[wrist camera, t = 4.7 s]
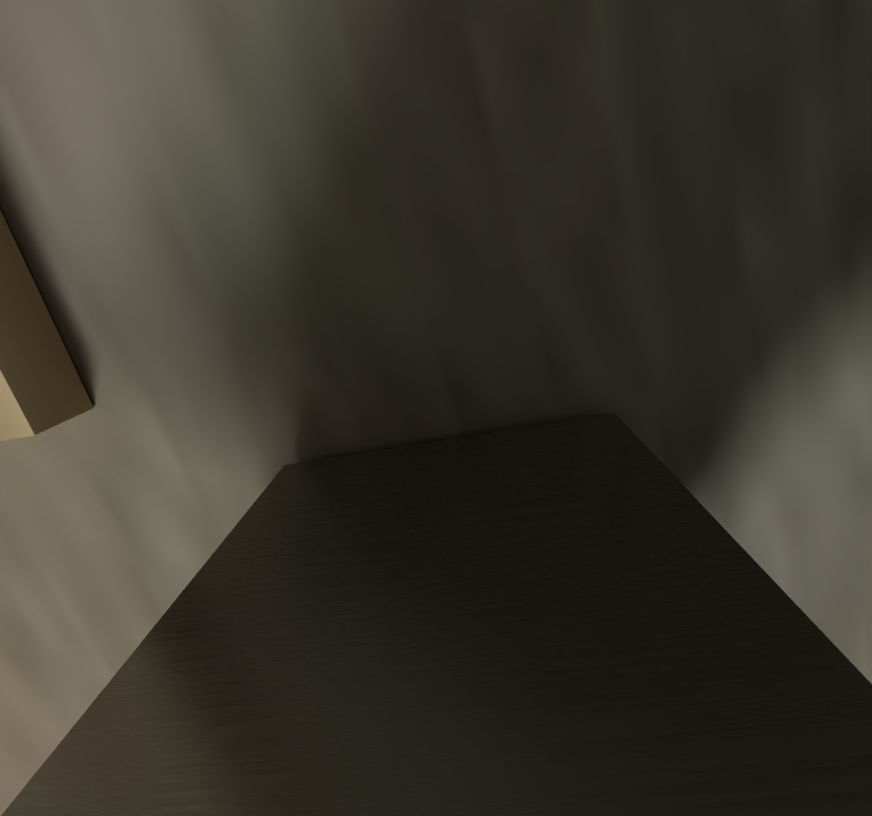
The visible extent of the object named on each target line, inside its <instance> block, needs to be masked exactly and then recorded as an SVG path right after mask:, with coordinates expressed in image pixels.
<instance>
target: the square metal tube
mask: <svg viewBox="0 0 872 816" xmlns="http://www.w3.org/2000/svg"><path fill="white" fill-rule="evenodd" d="M1 816H872V684H871V683H870V682H869V681H868V680H867V679H866V678H865V677H864V676H863V675H862V674H861V672H860V671H859V670H858V669H857V668H856V667H855V666H854V665H853V664H852V663H851V662H850V661H849V660H848V659H847V658H846V657H845V656H844V655H843V653H842V652H841V651H840V650H839V649H838V648H837V647H836V646H835V645H834V644H833V643H832V642H831V641H830V640H829V639H828V638H827V637H826V636H825V635H824V633H823V632H822V631H821V630H820V629H819V628H818V627H817V626H816V625H815V624H814V623H813V622H812V621H811V620H810V619H809V618H808V617H807V616H806V614H805V613H804V612H803V611H802V610H801V609H800V608H799V607H798V606H797V605H796V604H795V603H794V602H793V601H792V600H791V599H790V598H789V597H788V595H787V594H786V593H785V592H784V591H783V590H782V589H781V588H780V587H779V586H778V585H777V584H776V583H775V582H774V581H773V580H772V579H771V578H770V577H769V575H768V574H767V573H766V572H765V571H764V570H763V569H762V568H761V567H760V566H759V565H758V564H757V563H756V562H755V561H754V560H753V559H752V558H751V556H750V555H749V554H748V553H747V552H746V551H745V550H744V549H743V548H742V547H741V546H740V545H739V544H738V543H737V542H736V541H735V540H734V539H733V537H732V536H731V535H730V534H729V533H728V532H727V531H726V530H725V529H724V528H723V527H722V526H721V525H720V524H719V523H718V522H717V521H716V520H715V518H714V517H713V516H712V515H711V514H710V513H709V512H708V511H707V510H706V509H705V508H704V507H703V506H702V505H701V504H700V503H699V502H698V501H697V500H696V498H695V497H694V496H693V495H692V494H691V493H690V492H689V491H688V490H687V489H686V488H685V487H684V486H683V485H682V484H681V483H680V482H679V481H678V479H677V478H676V477H675V476H674V475H673V474H672V473H671V472H670V471H669V470H668V469H667V468H666V467H665V466H664V465H663V464H662V463H661V462H660V460H659V459H658V458H657V457H656V456H655V455H654V454H653V453H652V452H651V451H650V450H649V449H648V448H647V447H646V446H645V445H644V444H643V443H642V442H641V440H640V439H639V438H638V437H637V436H636V435H635V434H634V433H633V432H632V431H631V430H630V429H629V428H628V427H627V426H626V425H625V424H624V423H623V421H622V420H621V419H620V418H619V417H618V416H617V415H616V414H615V413H608V414H602V415H596V416H589V417H583V418H577V419H571V420H565V421H558V422H552V423H546V424H540V425H533V426H527V427H521V428H515V429H509V430H502V431H496V432H490V433H484V434H477V435H471V436H465V437H459V438H453V439H446V440H440V441H434V442H428V443H421V444H415V445H409V446H403V447H396V448H390V449H384V450H378V451H372V452H365V453H359V454H353V455H347V456H340V457H334V458H328V459H322V460H316V461H309V462H303V463H297V464H291V465H284V466H283V468H282V469H281V470H280V471H279V473H278V474H277V475H276V476H275V478H274V479H273V480H272V481H271V483H270V484H269V485H268V486H267V488H266V489H265V490H264V491H263V492H262V494H261V495H260V496H259V497H258V499H257V500H256V501H255V502H254V504H253V505H252V506H251V507H250V509H249V510H248V511H247V512H246V514H245V515H244V516H243V517H242V518H241V520H240V521H239V522H238V523H237V525H236V526H235V527H234V528H233V530H232V531H231V532H230V533H229V535H228V536H227V537H226V538H225V540H224V541H223V542H222V543H221V544H220V546H219V547H218V548H217V549H216V551H215V552H214V553H213V554H212V556H211V557H210V558H209V559H208V561H207V562H206V563H205V564H204V565H203V567H202V568H201V569H200V570H199V572H198V573H197V574H196V575H195V577H194V578H193V579H192V580H191V582H190V583H189V584H188V585H187V587H186V588H185V589H184V590H183V591H182V593H181V594H180V595H179V596H178V598H177V599H176V600H175V601H174V603H173V604H172V605H171V606H170V608H169V609H168V610H167V611H166V613H165V614H164V615H163V616H162V617H161V619H160V620H159V621H158V622H157V624H156V625H155V626H154V627H153V629H152V630H151V631H150V632H149V634H148V635H147V636H146V637H145V639H144V640H143V641H142V642H141V643H140V645H139V646H138V647H137V648H136V650H135V651H134V652H133V653H132V655H131V656H130V657H129V658H128V660H127V661H126V662H125V663H124V665H123V666H122V667H121V668H120V669H119V671H118V672H117V673H116V674H115V676H114V677H113V678H112V679H111V681H110V682H109V683H108V684H107V686H106V687H105V688H104V689H103V690H102V692H101V693H100V694H99V695H98V697H97V698H96V699H95V700H94V702H93V703H92V704H91V705H90V707H89V708H88V709H87V710H86V712H85V713H84V714H83V715H82V716H81V718H80V719H79V720H78V721H77V723H76V724H75V725H74V726H73V728H72V729H71V730H70V731H69V733H68V734H67V735H66V736H65V738H64V739H63V740H62V741H61V742H60V744H59V745H58V746H57V747H56V749H55V750H54V751H53V752H52V754H51V755H50V756H49V757H48V759H47V760H46V761H45V762H44V764H43V765H42V766H41V767H40V768H39V770H38V771H37V772H36V773H35V775H34V776H33V777H32V778H31V780H30V781H29V782H28V783H27V785H26V786H25V787H24V788H23V790H22V791H21V792H20V793H19V794H18V796H17V797H16V798H15V799H14V801H13V802H12V803H11V804H10V806H9V807H8V808H7V809H6V811H5V812H4V813H3V814H2V815H1Z"/></svg>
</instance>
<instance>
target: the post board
mask: <svg viewBox="0 0 872 816" xmlns="http://www.w3.org/2000/svg"><path fill="white" fill-rule="evenodd" d="M92 408H94V407H93V405H92V403H91V401H90V399H89V397H88V395H87V392H86V390H85V388H84V386H83V384H82V382H81V380H80V378H79V376H78V373H77V371H76V369H75V367H74V365H73V363H72V361H71V359H70V356H69V354H68V352H67V350H66V348H65V346H64V344H63V342H62V340H61V337H60V335H59V333H58V331H57V329H56V327H55V325H54V323H53V320H52V318H51V316H50V314H49V312H48V310H47V308H46V306H45V304H44V301H43V299H42V297H41V295H40V293H39V291H38V289H37V287H36V284H35V282H34V280H33V278H32V276H31V274H30V272H29V270H28V268H27V265H26V263H25V261H24V259H23V257H22V255H21V253H20V251H19V248H18V246H17V244H16V242H15V240H14V238H13V236H12V234H11V232H10V229H9V227H8V225H7V223H6V221H5V219H4V217H3V215H2V212H1V210H0V441H5V440H11V439H16V438H22V437H27V436H33V435H36V434H38V433H40V432H43V431H45V430H47V429H49V428H51V427H53V426H56V425H58V424H60V423H62V422H64V421H66V420H69V419H71V418H73V417H75V416H77V415H79V414H82V413H84V412H86V411H88V410H90V409H92Z"/></svg>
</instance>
